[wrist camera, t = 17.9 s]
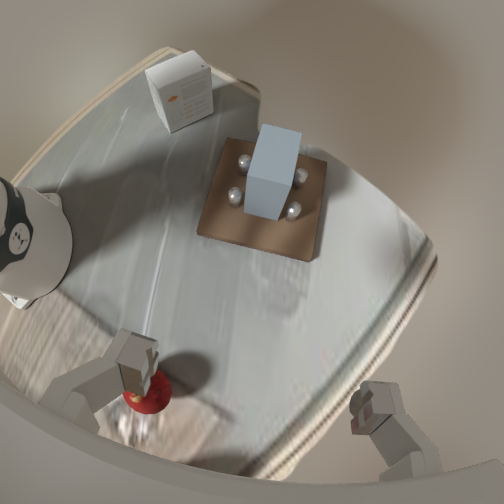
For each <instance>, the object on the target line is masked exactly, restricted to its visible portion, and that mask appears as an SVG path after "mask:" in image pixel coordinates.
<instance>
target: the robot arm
mask: <svg viewBox="0 0 504 504" xmlns="http://www.w3.org/2000/svg"><path fill="white" fill-rule="evenodd" d="M71 253H72V233H71V228H70V225H69V223H68V220H67V219H66V217H65V215H64V213H63V211H62V201H61V197H60V196H59V195H58V194H56V193H39V192H38V191H36V190H35V189H34V188H32V187H31V186H28V185H27V186H26V187H17V188H15V187H14V185H12V184H11V183H10V182H9V181H7V180H5V179H3V178H1V177H0V292H1V293H2V294H3V295H4V296H5V297H6V298H7V299H8V300H9V301H10V302H11V303H13V304H14V305H15V306H16V307H17V308H19V309H21V310H25V309H26V308H27V307H28V306H29V305H30V304H31V303H32V302H33V301H34V300H35V299H37V298H39V297H41V296H44V295H46V294H48V293H49V292H50V291H52V290H53V289H54V288H55V287H56V286H57V285H58V284H59V282H60V281H61V279H62V278H63V276H64V274H65V272H66V270H67V268H68V265H69V262H70V258H71ZM17 298H18V299H17ZM157 348H158V340H155V339H152V338H149V337H146V336H143V335H140V334H137V333H134V332H131V331H128V330H126V329H123V328H121V329H120V330H119V331H118V333H117V334H116V336H115V337H114V339H113V341H112V342H111V344H110V346H109V347H108V349H107V351H106V353H105V354H104V356H103V358H102V357H98V358H96V359H94V360H92V361H90V362H88V363H86V364H84V365H82V366H80V367H78V368H76V369H73V370H71V371H69V372H67V373H65V374H63V375H61V376H59V377H57V378H55V379H53V380H52V382H51V384H50V385H49V387H48V388H47V390H46V392H45V393H44V395H43V397H42V398H41V400H40V402H39V403H38V404H37V403H35V402H34V401H32V400H30V399H29V398H27V397H25V396H24V395H22V394H21V393H19V392H18V391H16V390H14V389H13V388H11V387H10V386H8V385H7V384H5V383H4V382H3V381H1V380H0V504H504V464H503V463H502V462H501V461H500V460H498V459H493V460H489V461H486V462H483V463H479V464H476V465H472V466H468V467H465V468H461V469H456V470H453V471H448V472H443V471H442V465H441V460H440V455H439V450H438V448H437V446H436V445H435V444H434V443H433V442H432V441H431V440H430V438H428V436H427V435H426V434H425V433H424V432H423V431H422V429H421V428H420V427H419V426H418V425H417V424H416V423H415V421H413V419H412V418H411V417H410V416H409V415H406V414H405V409H404V405H403V401H402V397H401V393H400V389H399V385H398V384H397V383H390V382H378V381H366V380H365V381H363V382H362V383H361V385H360V389H359V390H357V391H355V392H354V394H353V395H352V397H351V400H350V406H349V408H350V412H351V414H352V415H353V419H352V420H351V429H352V434H355V435H370V438H371V440H372V441H373V443H374V444H375V446H376V448H377V449H378V451H379V452H380V454H381V455H382V457H383V459H384V460H385V462H386V463H387V465H388V466H389V468H388V469H386V470H385V471H383V472H381V473H380V474H379V482H370V483H347V484H319V483H318V484H317V483H296V482H283V481H273V480H264V479H256V478H249V477H242V476H236V475H230V474H225V473H220V472H215V471H210V470H206V469H201V468H197V467H193V466H189V465H185V464H181V463H177V462H174V461H170V460H167V459H163V458H160V457H157V456H154V455H151V454H148V453H145V452H142V451H139V450H136V449H133V448H130V447H128V446H125V445H122V444H120V443H117V442H115V441H112V440H110V439H107V438H105V437H102V436H100V435H98V434H97V433H98V431H99V428H100V427H99V424H98V422H97V420H96V418H95V417H94V415H93V414H94V413H95V412H97V411H98V410H100V409H101V408H103V407H104V406H105V405H107V404H108V403H110V402H111V401H113V400H114V399H116V398H117V397H118V396H120V395H121V394H123V393H124V392H125V391H128V392H131V393H134V394H137V395H140V396H144V397H145V396H146V393H147V391H148V389H149V386H150V377H152V376H154V374H155V372H156V369H157V366H158V361H159V353H158V352H157V351H156V350H157Z"/></svg>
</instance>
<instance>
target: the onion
mask: <svg viewBox="0 0 504 504" xmlns="http://www.w3.org/2000/svg"><path fill="white" fill-rule="evenodd" d="M171 394H172V391H171V384H170V382H169V380H168V378H167V377H166V375H165V374H163V373H162V372H161V371H160V370H158V369H156V372H155V374H154V376H152V377H150V386H149V389H148V391H147V393H146V396H145V397H144V396H140V395H137V394H134V393H131V392H128V391H125V392H124V393H123V396H124V399H125V400H126V402H127V403H128V405H129V406H130V407H131V408H133V409H134V410H135V411H137V412H140V413H143V414H156V413H158V412H160V411H162V410H163V409H165V407H166V406H167V405H168V403H169V401H170V398H171Z"/></svg>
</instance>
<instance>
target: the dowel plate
mask: <svg viewBox="0 0 504 504" xmlns="http://www.w3.org/2000/svg"><path fill="white" fill-rule="evenodd" d="M255 147H256V144H255V143H251V142H246V141H241V140H237V139H232V138H227V141H226V143H225V146H224V149H223V152H222V155H221V158H220V160H219V163H218V166H217V169H216V172H215V175H214V178H213V181H212V184H211V187H210V190H209V193H208V196H207V199H206V203H205V206H204V209H203V212H202V215H201V218H200V222H199V225H198V228H197V234H198V235H200V236H204V237H208V238H212V239H216V240H220V241H224V242H228V243H233V244H237V245H241V246H245V247H249V248H253V249H257V250H261V251H265V252H269V253H273V254H277V255H281V256H285V257H289V258H293V259H297V260H301V261H305V262H309V261H310V260H311V259H312V254H313V248H314V243H315V237H316V231H317V226H318V220H319V214H320V208H321V201H322V195H323V188H324V182H325V175H326V168H327V162H325V161H321V160H318V159H314V158H311V157H307V156H303V155H300V154H298V157H297V162H296V167H295V172H294V176H293V181H292V186H291V189H290V191H289V193H288V196H287V198H286V201H285V203H284V206H283V208H282V211H281V213H280V216H279V218H278V220H277V221H276V220H272V219H268V218H264V217H260V216H256V215H252V214H248V213H244V202H245V192H246V182H247V174H248V171H249V167H250V164H251V160H252V157H253V153H254V150H255Z"/></svg>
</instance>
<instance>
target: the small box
mask: <svg viewBox="0 0 504 504" xmlns="http://www.w3.org/2000/svg"><path fill="white" fill-rule="evenodd" d="M145 73H146V77H147V80H148V83H149V87H150V90H151V94H152V97H153V100H154V103H155V106H156V110H157V113H158V115H159V116H160V118H161V120H162V121H163V123H164V124H165V126H166V127H167V129H168V130H169V132H170V133H173V132H175V131H177V130H179V129H181V128H183V127H185V126H187V125H189V124H191V123H193V122H195V121H197V120H199V119H201V118H203V117H206V116H208V115H210V114H212V113H214V108H213V96H212V79H211V68H210V67H209V66H208V64H207V63H206V62H205V61H204V60H203V59H202V58H201V57H200V56H199V55H198V54H197V53H196V52H195V51H194V50H192V51H189V52H186V53H184V54H181V55H179V56H176V57H174V58H171V59H169V60H167V61H164V62H162V63H160V64H157V65H155V66H153V67H150V68H148V69H146V70H145Z"/></svg>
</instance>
